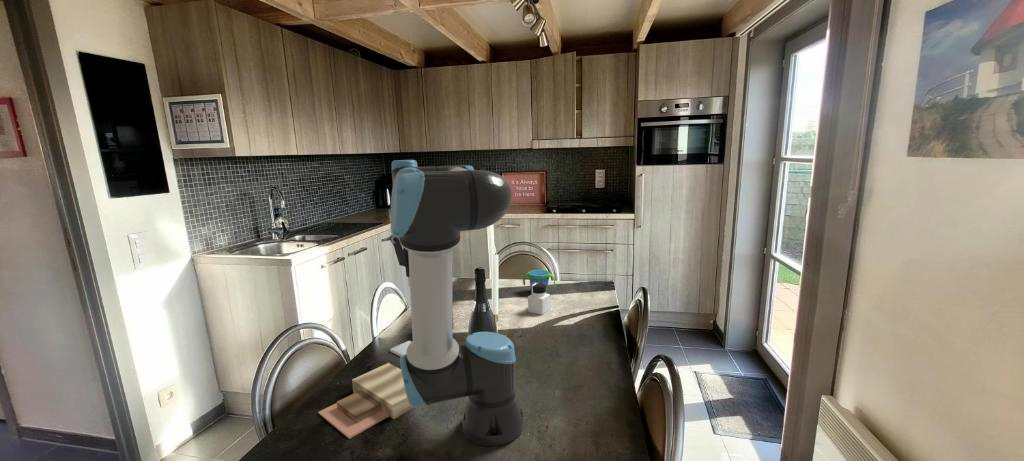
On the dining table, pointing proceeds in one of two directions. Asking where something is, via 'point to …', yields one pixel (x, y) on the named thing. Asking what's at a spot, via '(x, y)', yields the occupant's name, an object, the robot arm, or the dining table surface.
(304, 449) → the dining table surface
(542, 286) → the medicine bottle
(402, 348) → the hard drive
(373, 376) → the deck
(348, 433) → the mat
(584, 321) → the dining table surface
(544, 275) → the snack cup
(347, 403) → the wooden block
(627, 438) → the dining table surface
